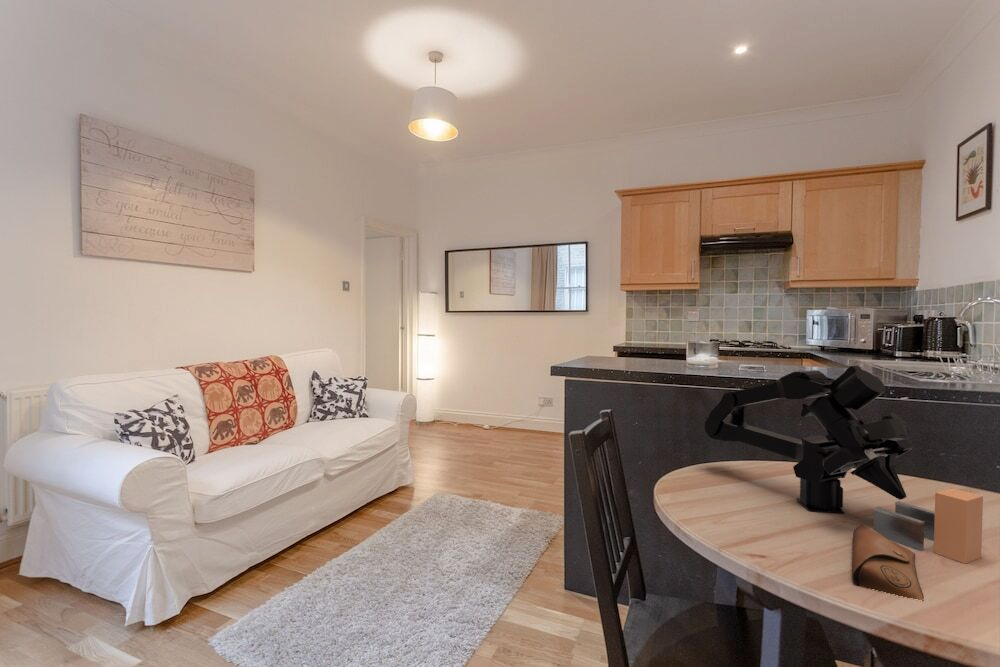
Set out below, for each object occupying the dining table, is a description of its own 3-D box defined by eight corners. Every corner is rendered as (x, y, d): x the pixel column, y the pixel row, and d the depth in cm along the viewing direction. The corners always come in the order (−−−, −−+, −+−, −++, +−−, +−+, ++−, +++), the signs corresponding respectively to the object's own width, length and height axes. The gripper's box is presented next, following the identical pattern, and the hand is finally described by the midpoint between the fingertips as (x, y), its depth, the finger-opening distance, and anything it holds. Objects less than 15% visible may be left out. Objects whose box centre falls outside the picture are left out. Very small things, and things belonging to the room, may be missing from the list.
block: (933, 552, 79) (935, 492, 79) (950, 546, 81) (951, 488, 81) (965, 563, 75) (966, 500, 75) (981, 557, 77) (983, 496, 77)
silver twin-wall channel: (873, 534, 86) (873, 507, 86) (898, 527, 89) (898, 501, 89) (919, 552, 80) (920, 522, 80) (945, 543, 83) (946, 515, 83)
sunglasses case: (930, 604, 65) (898, 555, 67) (873, 614, 69) (844, 568, 70) (915, 552, 80) (889, 513, 81) (869, 563, 83) (845, 525, 85)
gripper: (841, 403, 86) (912, 484, 76) (902, 396, 93) (974, 469, 83) (797, 436, 93) (857, 514, 83) (857, 427, 101) (918, 498, 91)
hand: (903, 498), depth 85 cm, fingers closed
